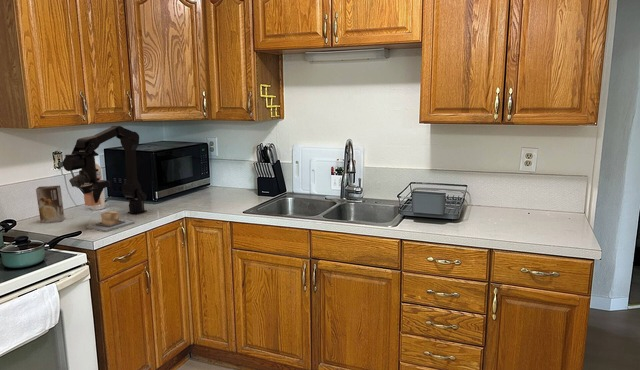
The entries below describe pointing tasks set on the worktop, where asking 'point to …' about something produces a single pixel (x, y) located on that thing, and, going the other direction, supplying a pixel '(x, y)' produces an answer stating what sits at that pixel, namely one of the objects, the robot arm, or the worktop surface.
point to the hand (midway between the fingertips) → (92, 202)
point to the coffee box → (50, 204)
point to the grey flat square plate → (107, 228)
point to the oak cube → (110, 218)
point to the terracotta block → (90, 199)
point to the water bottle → (102, 205)
